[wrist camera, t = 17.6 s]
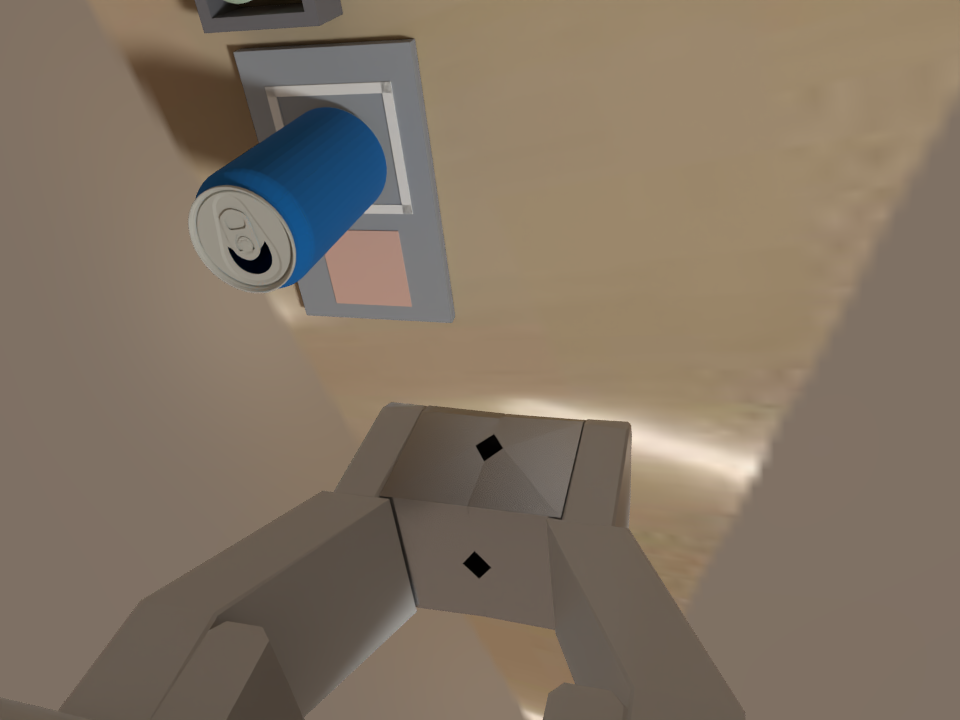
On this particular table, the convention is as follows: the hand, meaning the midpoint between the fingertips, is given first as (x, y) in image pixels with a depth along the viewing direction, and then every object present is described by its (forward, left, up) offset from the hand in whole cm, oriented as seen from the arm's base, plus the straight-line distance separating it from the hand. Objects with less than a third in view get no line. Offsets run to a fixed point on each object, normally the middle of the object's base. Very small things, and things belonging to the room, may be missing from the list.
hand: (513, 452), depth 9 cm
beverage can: (+8, -19, -34) cm, 39 cm away
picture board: (+11, -19, -34) cm, 41 cm away
